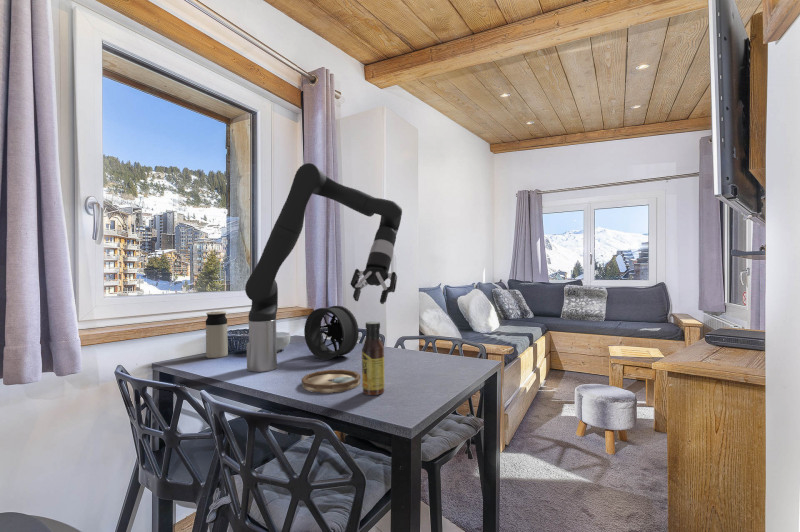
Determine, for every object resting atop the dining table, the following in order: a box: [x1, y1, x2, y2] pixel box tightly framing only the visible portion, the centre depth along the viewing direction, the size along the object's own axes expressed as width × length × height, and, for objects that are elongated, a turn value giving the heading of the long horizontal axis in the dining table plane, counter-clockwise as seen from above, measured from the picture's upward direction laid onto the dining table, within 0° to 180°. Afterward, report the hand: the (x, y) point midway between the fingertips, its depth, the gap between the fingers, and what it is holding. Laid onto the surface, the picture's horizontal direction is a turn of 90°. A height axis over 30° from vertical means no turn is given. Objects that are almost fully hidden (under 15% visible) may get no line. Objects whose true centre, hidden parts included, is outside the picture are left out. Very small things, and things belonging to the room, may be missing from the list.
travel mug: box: [205, 310, 229, 359], centre depth 164 cm, size 8×8×18 cm
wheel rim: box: [303, 305, 360, 361], centre depth 158 cm, size 20×9×20 cm, turn 60°
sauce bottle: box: [361, 320, 386, 396], centre depth 112 cm, size 7×6×20 cm
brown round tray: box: [301, 369, 362, 394], centre depth 121 cm, size 17×17×2 cm
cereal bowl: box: [276, 331, 291, 352], centre depth 173 cm, size 17×17×7 cm
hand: (368, 301), depth 124 cm, fingers open, 8 cm apart
